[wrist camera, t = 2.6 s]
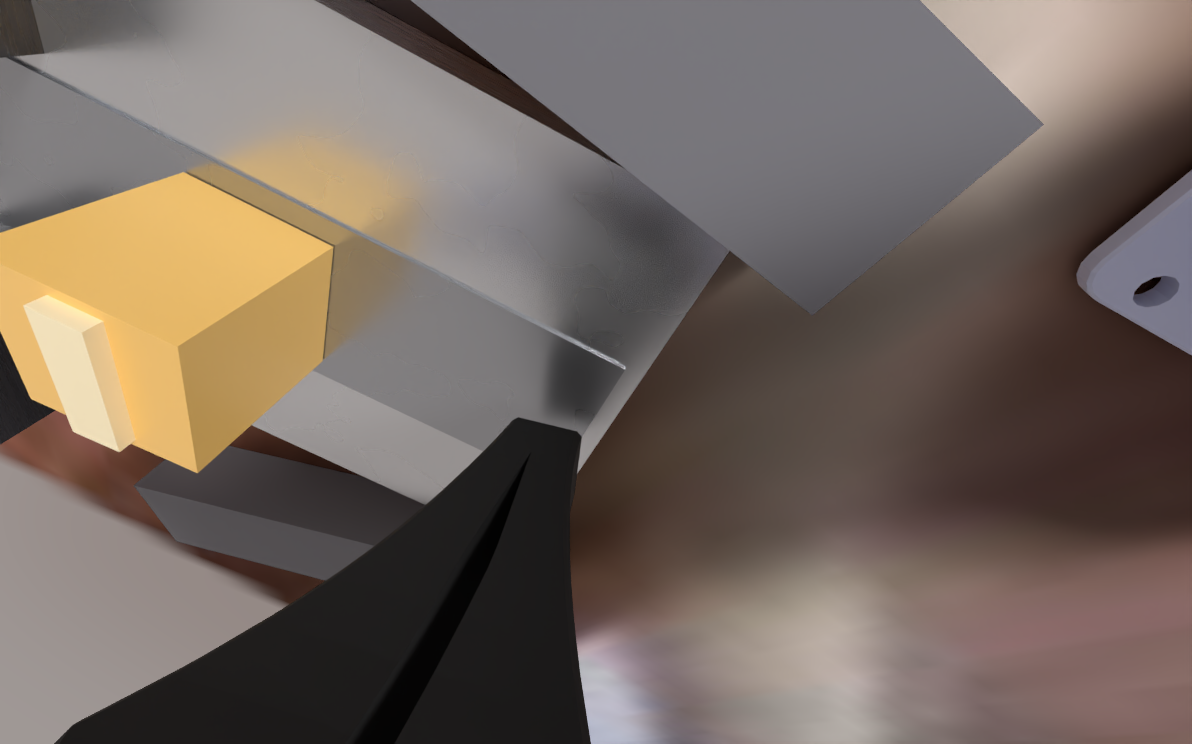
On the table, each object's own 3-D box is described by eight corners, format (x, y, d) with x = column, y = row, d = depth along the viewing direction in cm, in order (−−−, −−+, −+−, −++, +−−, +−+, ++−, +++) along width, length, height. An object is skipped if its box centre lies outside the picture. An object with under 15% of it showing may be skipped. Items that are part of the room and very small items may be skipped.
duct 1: (558, 512, 16) (533, 585, 14) (556, 565, 18) (534, 635, 16) (199, 430, 18) (133, 485, 16) (232, 486, 20) (176, 541, 18)
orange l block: (333, 247, 10) (158, 358, 7) (322, 361, 12) (183, 486, 9) (183, 172, 10) (-67, 255, 7) (198, 301, 12) (11, 409, 9)
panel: (741, 207, 9) (744, 333, 6) (537, 517, 16) (484, 655, 13) (-192, -305, 8) (-899, -527, 4) (27, 278, 14) (-182, 365, 11)
